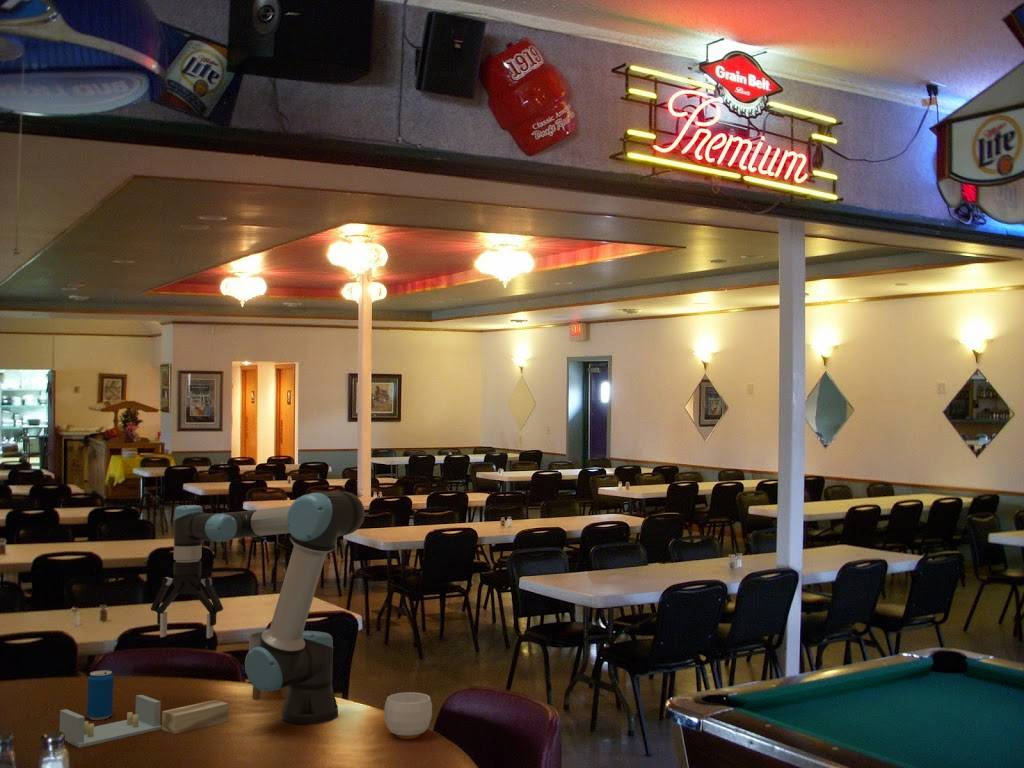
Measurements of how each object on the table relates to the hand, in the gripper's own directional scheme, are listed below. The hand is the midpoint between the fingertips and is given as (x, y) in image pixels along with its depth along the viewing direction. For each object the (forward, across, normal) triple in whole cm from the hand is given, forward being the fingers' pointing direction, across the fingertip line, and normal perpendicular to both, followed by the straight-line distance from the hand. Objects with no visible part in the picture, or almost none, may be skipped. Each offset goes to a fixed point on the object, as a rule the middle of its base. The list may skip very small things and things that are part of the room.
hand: (186, 636), depth 290 cm
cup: (+21, -66, +14) cm, 71 cm away
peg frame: (+20, +9, +24) cm, 33 cm away
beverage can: (+20, +19, +11) cm, 30 cm away
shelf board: (+21, -9, +14) cm, 27 cm away
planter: (+20, -18, -19) cm, 33 cm away
